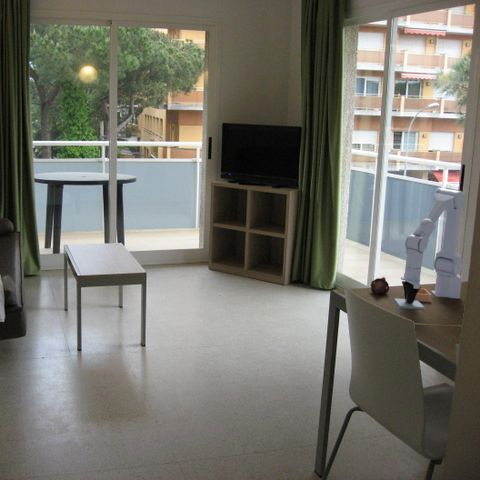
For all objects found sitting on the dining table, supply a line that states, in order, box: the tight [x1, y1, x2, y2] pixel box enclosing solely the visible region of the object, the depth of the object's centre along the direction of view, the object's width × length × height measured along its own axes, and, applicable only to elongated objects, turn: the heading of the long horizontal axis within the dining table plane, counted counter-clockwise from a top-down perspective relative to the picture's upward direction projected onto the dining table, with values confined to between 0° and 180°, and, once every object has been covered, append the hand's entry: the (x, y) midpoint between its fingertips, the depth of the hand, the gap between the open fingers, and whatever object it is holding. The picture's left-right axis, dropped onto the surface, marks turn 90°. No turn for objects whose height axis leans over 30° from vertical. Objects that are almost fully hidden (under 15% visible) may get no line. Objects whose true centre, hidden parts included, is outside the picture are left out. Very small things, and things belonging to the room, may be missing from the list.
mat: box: [392, 299, 426, 311], centre depth 258 cm, size 10×10×1 cm
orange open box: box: [415, 288, 432, 303], centre depth 267 cm, size 8×8×4 cm
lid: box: [393, 295, 425, 310], centre depth 258 cm, size 9×9×4 cm
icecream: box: [370, 276, 390, 295], centre depth 270 cm, size 7×7×15 cm
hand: (409, 301), depth 258 cm, fingers closed on lid, 2 cm apart
